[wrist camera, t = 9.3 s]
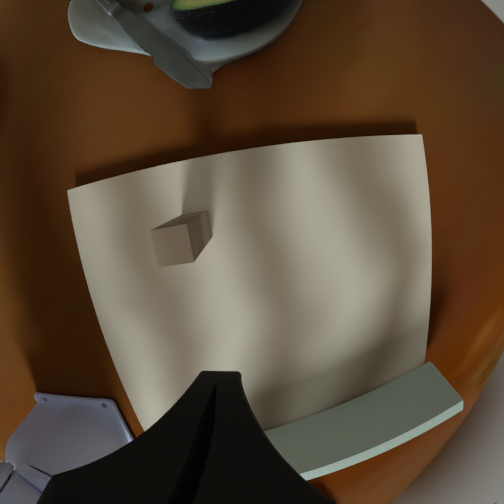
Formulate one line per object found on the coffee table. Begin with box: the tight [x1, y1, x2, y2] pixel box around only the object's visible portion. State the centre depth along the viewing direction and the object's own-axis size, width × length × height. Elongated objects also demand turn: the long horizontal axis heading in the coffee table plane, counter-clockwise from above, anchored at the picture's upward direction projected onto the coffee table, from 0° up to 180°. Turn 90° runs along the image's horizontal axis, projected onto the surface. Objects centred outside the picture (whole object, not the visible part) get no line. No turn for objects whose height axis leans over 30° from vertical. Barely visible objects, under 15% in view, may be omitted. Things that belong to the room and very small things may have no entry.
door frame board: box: [67, 135, 432, 432], centre depth 17 cm, size 22×24×6 cm
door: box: [264, 362, 463, 480], centre depth 17 cm, size 2×16×5 cm, turn 114°
